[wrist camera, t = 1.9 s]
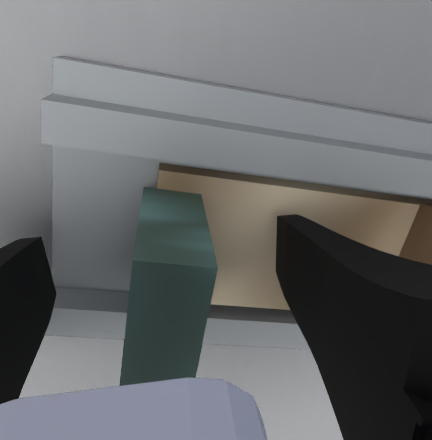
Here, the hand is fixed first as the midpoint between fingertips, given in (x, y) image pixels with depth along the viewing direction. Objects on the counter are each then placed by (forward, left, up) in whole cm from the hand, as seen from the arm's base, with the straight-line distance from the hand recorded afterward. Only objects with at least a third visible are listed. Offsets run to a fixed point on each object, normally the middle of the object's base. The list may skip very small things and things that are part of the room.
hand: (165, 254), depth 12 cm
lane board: (-6, 0, -3) cm, 7 cm away
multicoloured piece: (-7, 0, -2) cm, 7 cm away
